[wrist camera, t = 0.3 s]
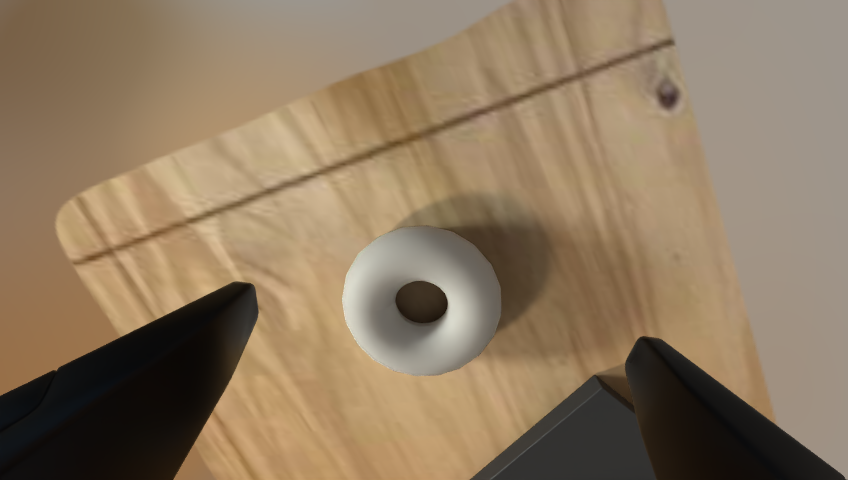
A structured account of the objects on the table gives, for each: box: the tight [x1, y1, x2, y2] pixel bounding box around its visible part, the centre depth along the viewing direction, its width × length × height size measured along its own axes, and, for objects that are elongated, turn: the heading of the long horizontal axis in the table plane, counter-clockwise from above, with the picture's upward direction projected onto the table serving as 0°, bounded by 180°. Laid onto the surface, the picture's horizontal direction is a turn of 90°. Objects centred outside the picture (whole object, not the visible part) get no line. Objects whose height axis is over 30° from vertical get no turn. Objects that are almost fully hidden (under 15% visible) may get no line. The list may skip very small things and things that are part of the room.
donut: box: [342, 226, 501, 376], centre depth 23 cm, size 10×3×10 cm
